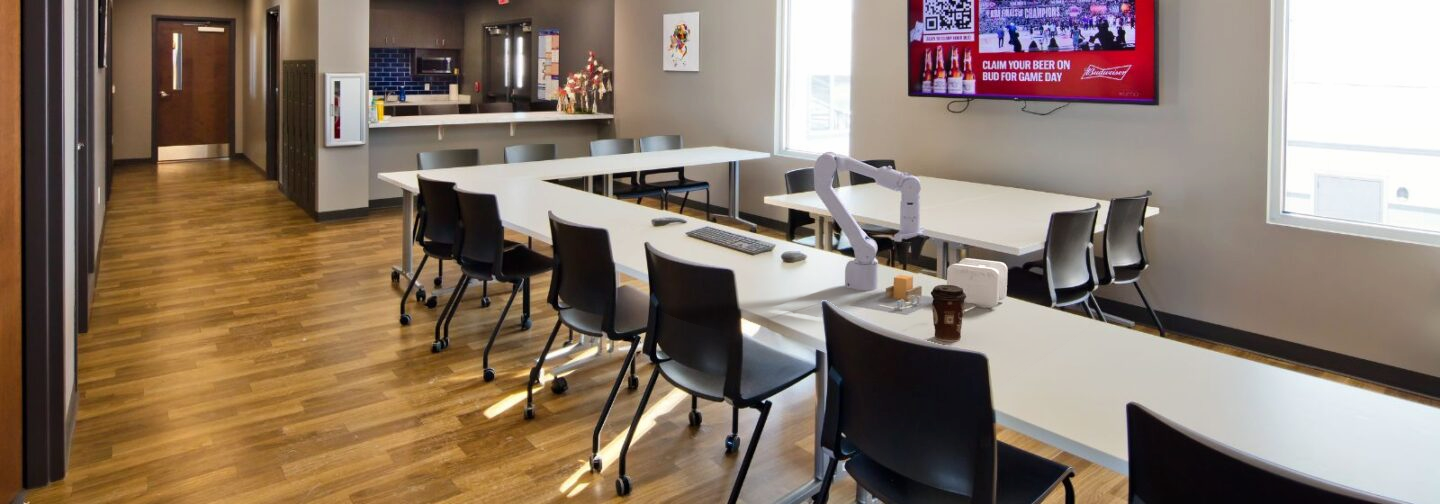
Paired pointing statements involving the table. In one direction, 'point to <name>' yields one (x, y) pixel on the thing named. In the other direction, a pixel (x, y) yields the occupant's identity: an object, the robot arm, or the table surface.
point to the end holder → (915, 291)
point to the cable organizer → (980, 281)
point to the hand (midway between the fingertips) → (909, 261)
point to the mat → (894, 303)
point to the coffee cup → (948, 312)
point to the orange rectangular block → (902, 286)
